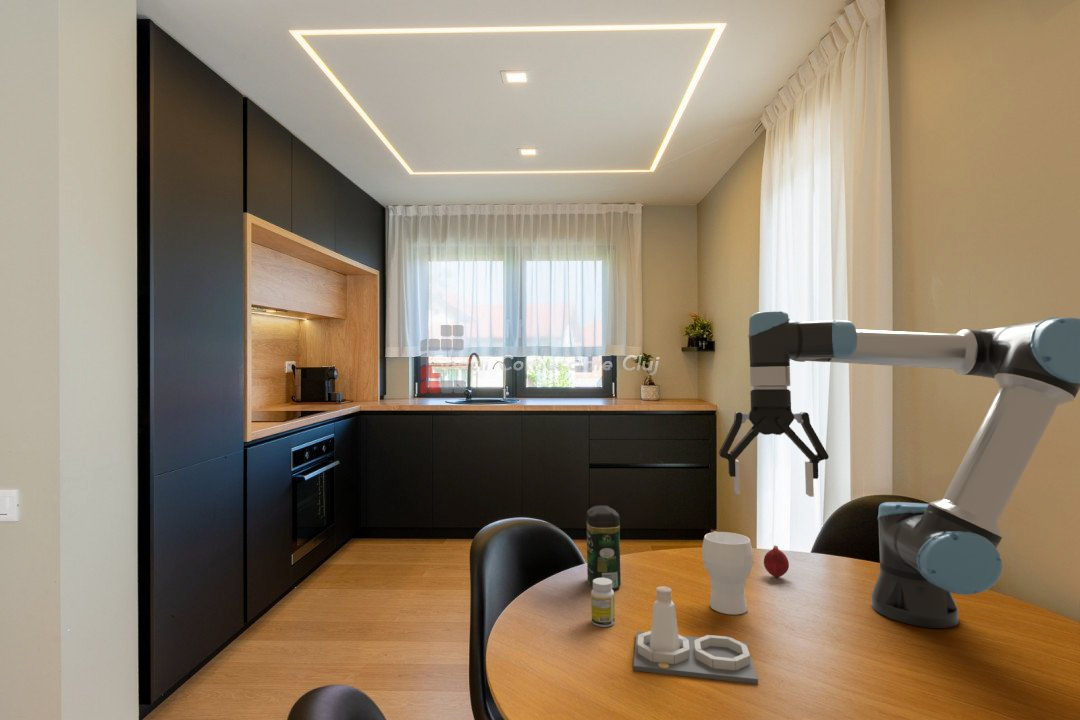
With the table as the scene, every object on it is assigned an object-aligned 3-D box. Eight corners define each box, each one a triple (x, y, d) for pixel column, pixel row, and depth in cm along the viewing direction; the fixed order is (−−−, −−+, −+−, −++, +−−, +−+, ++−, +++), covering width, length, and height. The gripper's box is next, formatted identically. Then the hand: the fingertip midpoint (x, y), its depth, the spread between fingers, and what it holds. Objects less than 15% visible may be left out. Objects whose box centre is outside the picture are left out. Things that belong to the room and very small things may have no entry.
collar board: (745, 646, 100) (745, 633, 100) (758, 684, 88) (757, 669, 88) (636, 635, 105) (636, 623, 105) (633, 670, 92) (633, 656, 92)
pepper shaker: (652, 641, 101) (651, 581, 101) (682, 646, 99) (681, 585, 99) (647, 654, 96) (646, 591, 96) (678, 660, 94) (677, 595, 94)
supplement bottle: (601, 615, 114) (601, 575, 114) (619, 622, 111) (618, 580, 111) (586, 622, 111) (586, 581, 111) (604, 630, 107) (604, 587, 108)
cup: (758, 619, 111) (757, 546, 112) (705, 615, 114) (704, 543, 114) (749, 599, 122) (748, 532, 122) (700, 596, 124) (699, 530, 125)
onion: (793, 582, 132) (792, 549, 133) (769, 582, 132) (769, 549, 133) (783, 574, 138) (782, 542, 138) (760, 574, 138) (759, 542, 138)
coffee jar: (585, 577, 136) (584, 503, 137) (616, 577, 136) (615, 503, 137) (590, 592, 127) (589, 512, 127) (623, 591, 127) (622, 512, 128)
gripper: (831, 387, 110) (834, 492, 109) (704, 388, 115) (706, 488, 115) (843, 387, 103) (847, 500, 102) (707, 388, 108) (710, 495, 107)
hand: (773, 494), depth 108 cm, fingers open, 13 cm apart
